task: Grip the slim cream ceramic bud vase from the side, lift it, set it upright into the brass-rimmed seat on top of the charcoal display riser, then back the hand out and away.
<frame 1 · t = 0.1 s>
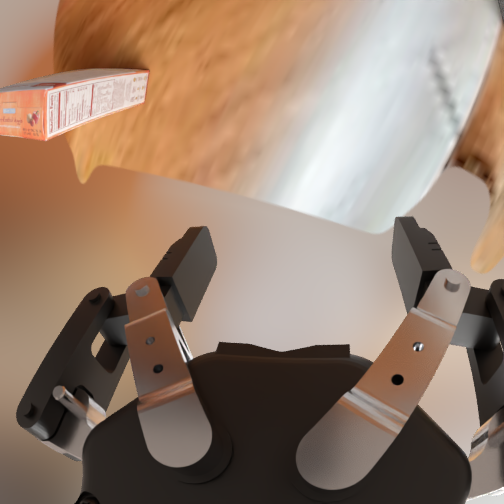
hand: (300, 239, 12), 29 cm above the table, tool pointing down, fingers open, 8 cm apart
cracker box: (113, 84, 36), on the table
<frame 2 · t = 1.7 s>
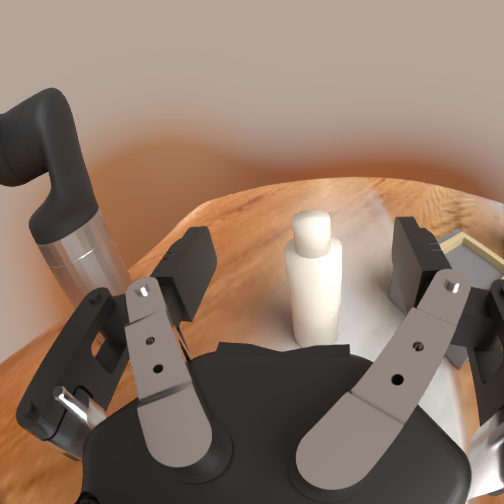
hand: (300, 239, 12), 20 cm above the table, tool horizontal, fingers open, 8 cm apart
display riser: (456, 306, 29), on the table
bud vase: (316, 333, 32), on the table
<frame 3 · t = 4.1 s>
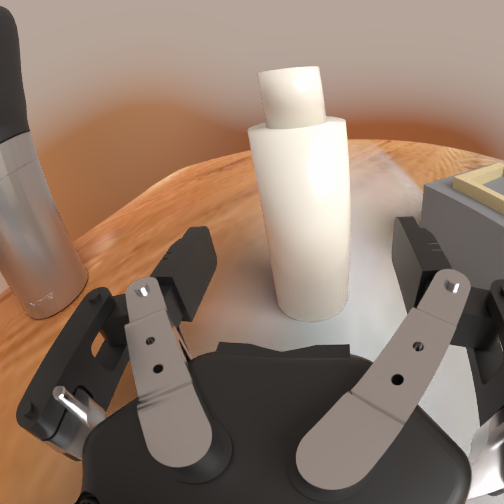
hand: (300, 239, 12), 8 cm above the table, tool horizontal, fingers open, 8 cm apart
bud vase: (312, 295, 20), on the table
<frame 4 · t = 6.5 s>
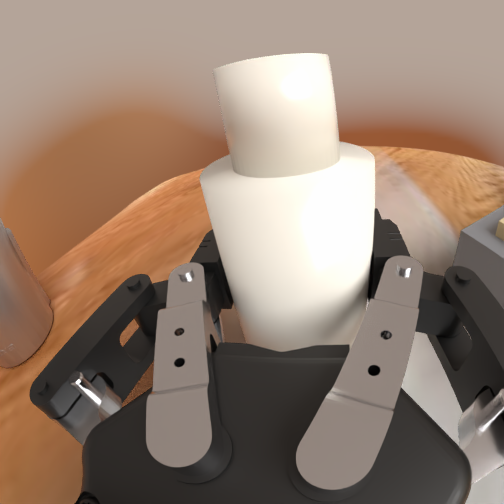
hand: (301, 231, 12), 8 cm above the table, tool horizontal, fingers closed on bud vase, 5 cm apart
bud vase: (306, 379, 15), on the table, touching gripper
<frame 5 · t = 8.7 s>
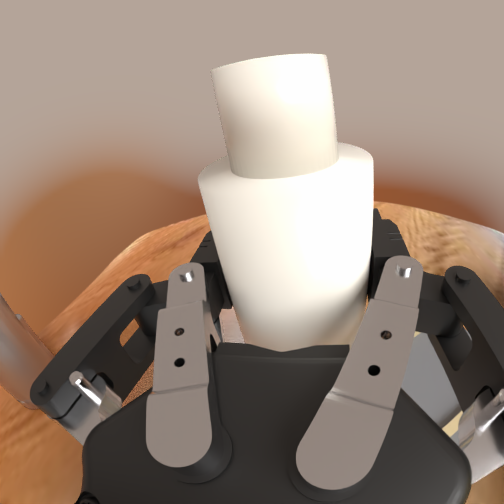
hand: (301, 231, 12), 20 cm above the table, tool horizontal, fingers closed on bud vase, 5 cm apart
display riser: (408, 410, 21), on the table
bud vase: (306, 380, 15), point 12 cm above the table, touching gripper
when the fingers open (15 cm above the table, at t = 11.2 s): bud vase drops 1 cm, resting on display riser.
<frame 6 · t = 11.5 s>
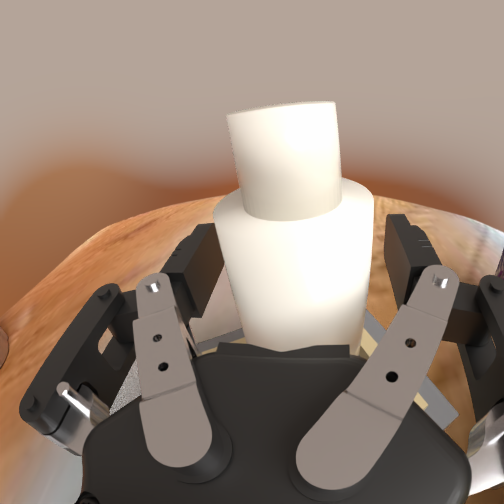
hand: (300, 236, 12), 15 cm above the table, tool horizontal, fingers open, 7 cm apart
display riser: (308, 424, 19), on the table
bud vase: (307, 393, 15), point 6 cm above the table, touching display riser
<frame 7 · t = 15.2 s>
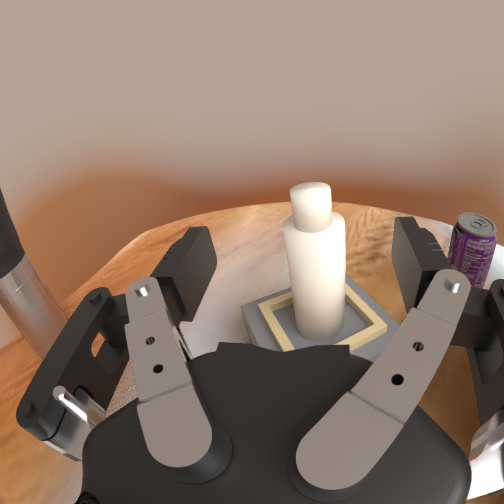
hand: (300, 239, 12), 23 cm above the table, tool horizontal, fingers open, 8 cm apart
beverage can: (459, 293, 35), on the table
display riser: (320, 354, 33), on the table
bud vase: (320, 322, 29), point 6 cm above the table, touching display riser
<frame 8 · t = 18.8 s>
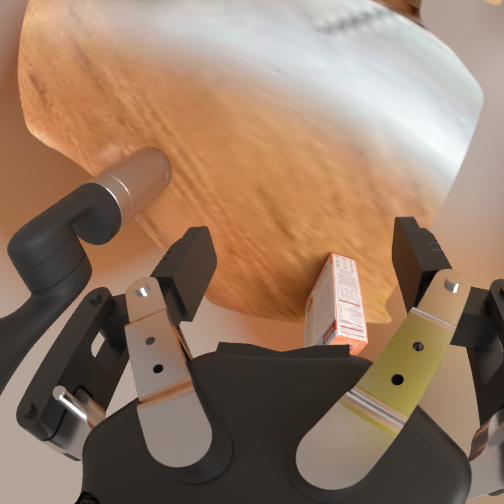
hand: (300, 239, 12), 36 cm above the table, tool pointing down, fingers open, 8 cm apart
cracker box: (330, 279, 58), on the table
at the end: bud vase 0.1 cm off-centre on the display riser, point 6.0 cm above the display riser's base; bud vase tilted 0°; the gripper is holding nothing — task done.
